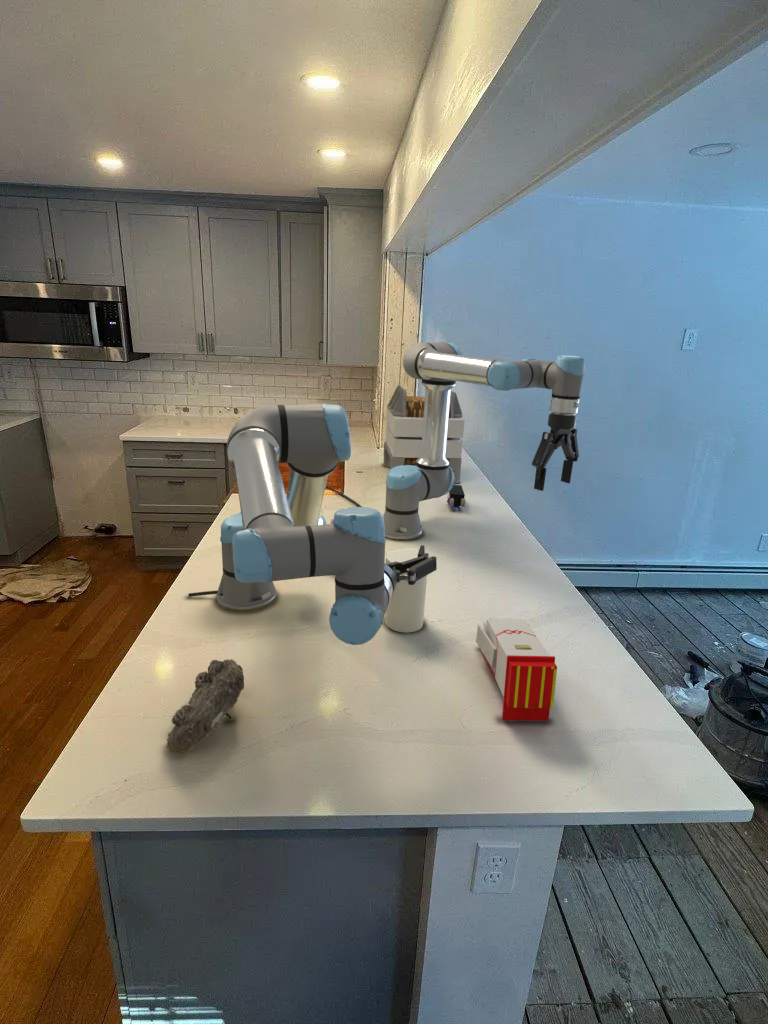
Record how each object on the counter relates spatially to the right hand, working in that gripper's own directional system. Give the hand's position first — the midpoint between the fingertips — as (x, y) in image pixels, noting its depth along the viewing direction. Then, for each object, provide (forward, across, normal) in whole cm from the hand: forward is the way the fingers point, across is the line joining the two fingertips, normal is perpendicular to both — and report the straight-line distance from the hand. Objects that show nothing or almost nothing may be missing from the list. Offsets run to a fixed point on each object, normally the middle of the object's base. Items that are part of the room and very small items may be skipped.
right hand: (552, 485), depth 166 cm
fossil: (+28, -107, 0) cm, 110 cm away
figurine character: (+28, +24, +57) cm, 68 cm away
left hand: (0, -70, -8) cm, 70 cm away
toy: (+28, -51, -28) cm, 65 cm away
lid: (+10, -54, +3) cm, 55 cm away
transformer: (+28, +46, +101) cm, 115 cm away
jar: (+28, -54, +3) cm, 61 cm away
